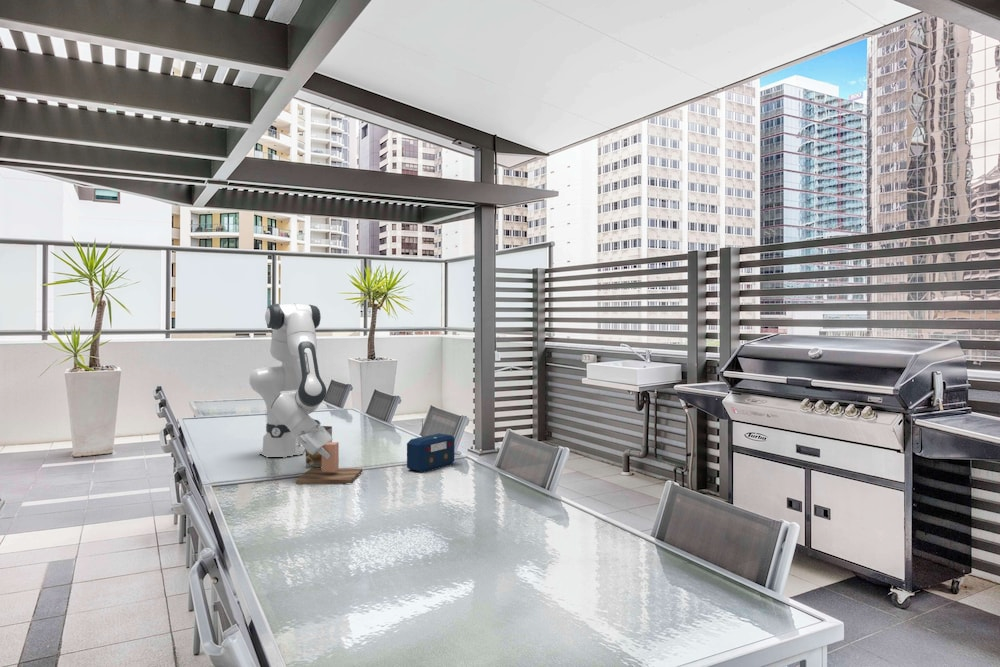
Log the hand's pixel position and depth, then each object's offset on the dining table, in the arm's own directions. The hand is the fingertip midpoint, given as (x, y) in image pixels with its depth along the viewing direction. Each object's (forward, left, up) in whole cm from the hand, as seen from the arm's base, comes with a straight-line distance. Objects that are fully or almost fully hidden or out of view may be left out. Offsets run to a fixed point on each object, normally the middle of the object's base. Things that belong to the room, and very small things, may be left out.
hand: (331, 455), depth 241 cm
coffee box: (-19, -11, -9) cm, 23 cm away
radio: (-18, +35, -9) cm, 41 cm away
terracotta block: (0, -1, -5) cm, 5 cm away
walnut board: (0, -1, -8) cm, 8 cm away
